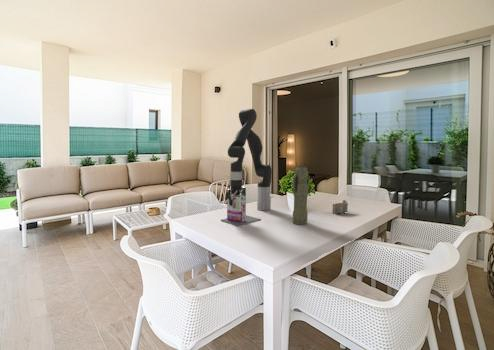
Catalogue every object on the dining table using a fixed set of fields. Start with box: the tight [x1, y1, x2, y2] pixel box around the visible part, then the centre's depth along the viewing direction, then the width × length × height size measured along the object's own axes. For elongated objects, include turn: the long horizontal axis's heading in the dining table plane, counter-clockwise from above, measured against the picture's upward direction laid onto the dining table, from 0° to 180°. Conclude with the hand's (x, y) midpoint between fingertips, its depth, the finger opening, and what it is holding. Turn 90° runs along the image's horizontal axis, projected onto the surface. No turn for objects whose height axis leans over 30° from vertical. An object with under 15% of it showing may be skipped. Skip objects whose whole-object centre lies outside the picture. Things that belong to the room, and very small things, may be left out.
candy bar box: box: [226, 194, 247, 222], centre depth 182 cm, size 11×5×16 cm, turn 60°
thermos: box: [292, 166, 310, 226], centre depth 178 cm, size 9×12×35 cm
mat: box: [220, 215, 262, 227], centre depth 185 cm, size 20×16×1 cm
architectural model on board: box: [332, 199, 349, 215], centre depth 205 cm, size 11×3×10 cm, turn 116°
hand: (236, 204), depth 181 cm, fingers open, 8 cm apart
